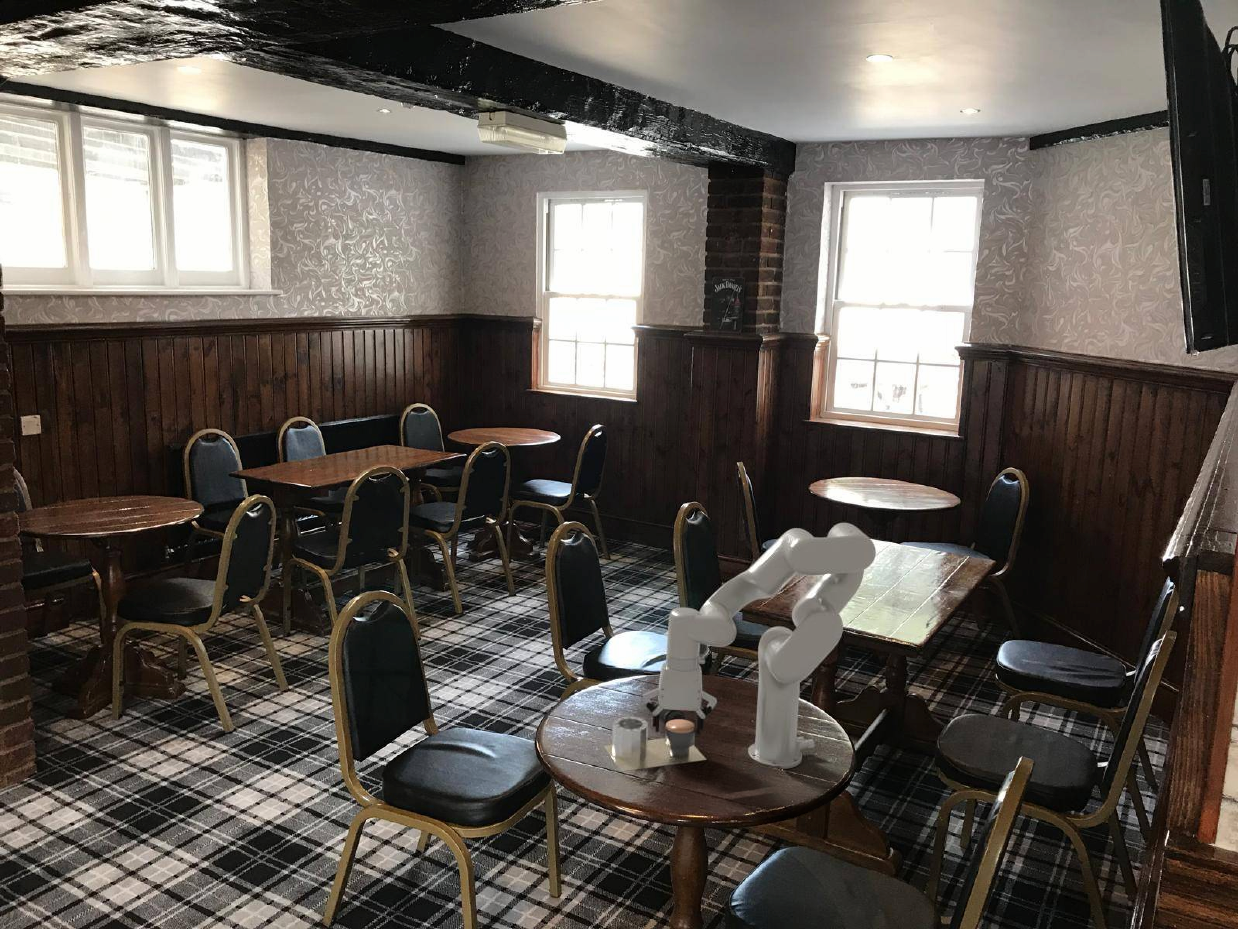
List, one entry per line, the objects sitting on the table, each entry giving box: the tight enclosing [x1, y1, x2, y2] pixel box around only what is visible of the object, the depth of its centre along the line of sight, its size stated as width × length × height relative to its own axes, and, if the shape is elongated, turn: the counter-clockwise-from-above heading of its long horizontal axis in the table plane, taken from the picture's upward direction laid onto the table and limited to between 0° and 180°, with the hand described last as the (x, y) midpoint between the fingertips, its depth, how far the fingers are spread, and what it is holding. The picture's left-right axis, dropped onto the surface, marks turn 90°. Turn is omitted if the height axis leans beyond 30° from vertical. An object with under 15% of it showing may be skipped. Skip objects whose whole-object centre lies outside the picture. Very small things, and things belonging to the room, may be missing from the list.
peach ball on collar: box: [664, 719, 696, 758], centre depth 232 cm, size 7×7×7 cm
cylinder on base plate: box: [603, 715, 707, 772], centre depth 232 cm, size 21×13×8 cm, turn 109°
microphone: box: [651, 701, 686, 728], centre depth 253 cm, size 6×6×20 cm
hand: (677, 730), depth 231 cm, fingers open, 9 cm apart
